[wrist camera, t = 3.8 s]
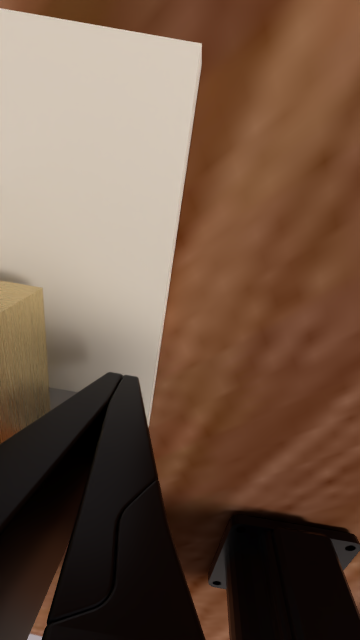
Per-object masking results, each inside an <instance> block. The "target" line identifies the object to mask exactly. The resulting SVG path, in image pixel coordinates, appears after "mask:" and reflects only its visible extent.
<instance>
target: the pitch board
mask: <svg viewBox="0 0 360 640" xmlns="http://www.w3.org/2000/svg"><path fill="white" fill-rule="evenodd" d="M201 65H202V44H201V43H195V42H189V41H184V40H178V39H172V38H167V37H161V36H155V35H149V34H144V33H138V32H132V31H127V30H121V29H115V28H109V27H104V26H98V25H92V24H87V23H81V22H75V21H69V20H64V19H58V18H52V17H47V16H41V15H35V14H30V13H24V12H18V11H12V10H7V9H1V8H0V281H6V282H12V283H18V284H24V285H29V286H35V287H41V288H43V301H44V316H45V331H46V347H47V362H48V377H49V393H50V408H51V410H52V409H53V408H55V407H56V406H58V405H59V404H61V403H62V402H64V401H65V400H67V399H68V398H70V397H71V396H73V395H74V394H76V393H77V392H79V391H80V390H82V389H83V388H85V387H86V386H88V385H89V384H91V383H92V382H94V381H95V380H97V379H98V378H100V377H101V376H103V375H105V374H106V373H108V372H114V373H120V374H122V375H123V376H124V375H131V376H137V377H138V378H139V383H140V388H141V393H142V398H143V403H144V408H145V413H146V418H147V424H148V428H149V422H150V415H151V408H152V401H153V395H154V388H155V381H156V374H157V367H158V360H159V353H160V346H161V340H162V333H163V326H164V319H165V312H166V305H167V298H168V291H169V285H170V278H171V271H172V264H173V257H174V250H175V243H176V236H177V230H178V223H179V216H180V209H181V202H182V195H183V188H184V181H185V175H186V168H187V161H188V154H189V147H190V140H191V133H192V126H193V120H194V113H195V106H196V99H197V92H198V85H199V78H200V71H201Z"/></svg>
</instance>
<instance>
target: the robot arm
mask: <svg viewBox="0 0 360 640" xmlns="http://www.w3.org/2000/svg"><path fill="white" fill-rule="evenodd" d="M69 540H70V541H69ZM68 542H69V545H68V548H67V552H66V555H65V559H64V562H63V566H62V569H61V573H60V576H59V580H58V583H57V587H56V590H55V594H54V598H53V601H52V605H51V608H50V612H49V615H48V619H47V626H46V628H45V630H44V633H43V637H42V640H205V637H204V634H203V631H202V628H201V625H200V621H199V618H198V615H197V612H196V609H195V606H194V603H193V600H192V597H191V594H190V591H189V588H188V585H187V582H186V579H185V576H184V573H183V570H182V567H181V564H180V561H179V558H178V555H177V551H176V548H175V544H174V541H173V538H172V534H171V531H170V528H169V524H168V520H167V515H166V511H165V507H164V503H163V498H162V493H161V488H160V483H159V481H158V474H157V469H156V464H155V459H154V454H153V449H152V444H151V439H150V434H149V429H148V424H147V418H146V413H145V408H144V403H143V398H142V393H141V388H140V383H139V378H138V377H137V376H131V375H124V376H123V375H122V374H120V373H114V372H108V373H106V374H105V375H103V376H101V377H100V378H98V379H97V380H95V381H94V382H92V383H91V384H89V385H88V386H86V387H85V388H83V389H82V390H80V391H79V392H77V393H76V394H74V395H73V396H71V397H70V398H68V399H67V400H65V401H64V402H62V403H61V404H59V405H58V406H56V407H55V408H53V409H52V410H50V411H49V412H47V413H46V414H44V415H43V416H41V417H40V418H38V419H37V420H35V421H34V422H32V423H31V424H29V425H28V426H26V427H25V428H23V429H22V430H20V431H19V432H17V433H16V434H14V435H13V436H11V437H10V438H8V439H7V440H5V441H4V442H2V443H1V444H0V640H27V638H28V636H29V634H30V631H31V629H32V627H33V624H34V622H35V620H36V617H37V615H38V613H39V610H40V608H41V605H42V603H43V601H44V598H45V596H46V594H47V591H48V589H49V587H50V584H51V582H52V580H53V577H54V575H55V573H56V570H57V568H58V566H59V563H60V561H61V559H62V556H63V554H64V552H65V549H66V547H67V544H68ZM359 551H360V543H359V541H358V539H357V537H356V536H355V535H354V534H351V533H345V532H339V531H333V530H327V529H321V528H315V527H309V526H303V525H297V524H291V523H286V522H280V521H274V520H268V519H262V518H256V517H250V516H244V515H236V516H233V517H231V519H230V520H229V523H228V525H227V528H226V530H225V533H224V535H223V538H222V540H221V543H220V545H219V548H218V550H217V553H216V555H215V558H214V560H213V563H212V565H211V568H210V570H209V573H208V583H209V585H211V586H212V587H217V588H223V589H226V590H227V605H228V620H229V635H230V640H360V614H359V612H358V609H357V606H356V604H355V601H354V598H353V596H352V593H351V590H350V588H349V585H348V583H347V580H346V577H345V575H344V572H343V570H344V569H345V568H346V567H347V565H348V564H349V563H350V562H351V561H352V559H353V558H354V557H355V556H356V555H357V553H358V552H359Z"/></svg>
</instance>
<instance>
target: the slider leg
mask: <svg viewBox="0 0 360 640" xmlns="http://www.w3.org/2000/svg"><path fill="white" fill-rule="evenodd" d="M50 410H51V408H50V393H49V377H48V362H47V347H46V331H45V316H44V301H43V288H41V287H35V286H29V285H24V284H18V283H12V282H6V281H0V444H1V443H2V442H4V441H5V440H7V439H8V438H10V437H11V436H13V435H14V434H16V433H17V432H19V431H20V430H22V429H23V428H25V427H26V426H28V425H29V424H31V423H32V422H34V421H35V420H37V419H38V418H40V417H41V416H43V415H44V414H46V413H47V412H49V411H50Z"/></svg>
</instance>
